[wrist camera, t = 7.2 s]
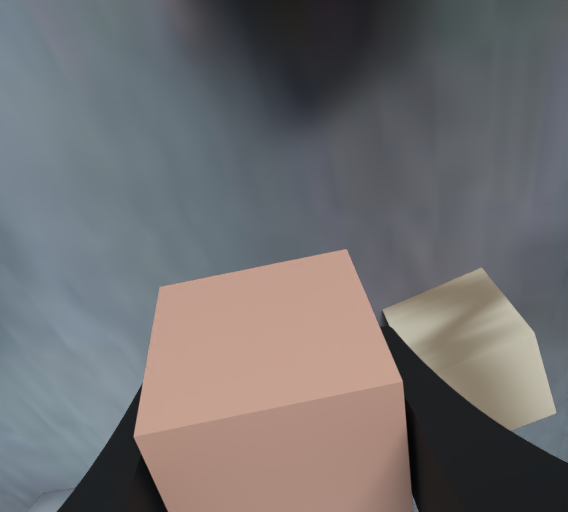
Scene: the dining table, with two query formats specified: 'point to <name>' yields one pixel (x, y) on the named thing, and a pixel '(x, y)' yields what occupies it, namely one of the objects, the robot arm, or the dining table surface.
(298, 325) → the terracotta block
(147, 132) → the dining table surface
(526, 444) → the robot arm
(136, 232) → the dining table surface
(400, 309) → the maple block
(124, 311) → the dining table surface
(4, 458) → the dining table surface
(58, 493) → the salt shaker
